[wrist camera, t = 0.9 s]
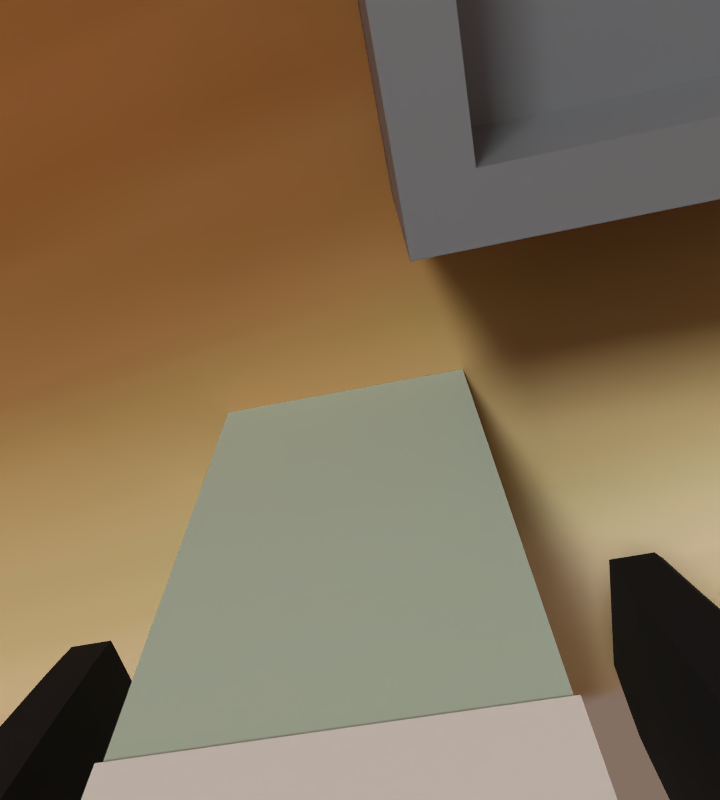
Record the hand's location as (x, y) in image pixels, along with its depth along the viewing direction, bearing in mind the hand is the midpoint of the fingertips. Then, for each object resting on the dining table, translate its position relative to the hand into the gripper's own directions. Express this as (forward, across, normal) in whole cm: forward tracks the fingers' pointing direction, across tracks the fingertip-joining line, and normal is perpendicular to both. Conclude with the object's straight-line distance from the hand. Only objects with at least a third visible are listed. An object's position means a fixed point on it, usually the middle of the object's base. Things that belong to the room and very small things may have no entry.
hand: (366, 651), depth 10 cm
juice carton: (+4, 0, 0) cm, 4 cm away
